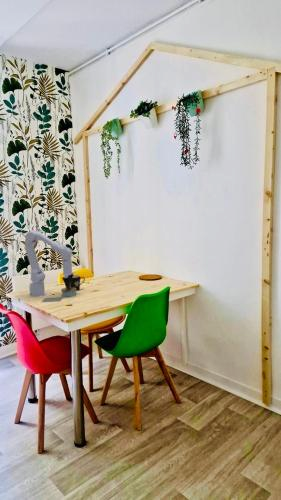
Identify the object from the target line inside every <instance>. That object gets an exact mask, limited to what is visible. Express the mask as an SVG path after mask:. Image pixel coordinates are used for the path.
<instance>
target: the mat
mask: <svg viewBox="0 0 281 500" xmlns="http://www.w3.org/2000/svg"><path fill="white" fill-rule="evenodd" d="M63 299H64V296H60V297H58V296H57V297H45V298H43V300H41V303H53V302H54V303H56V302H62V300H63Z"/></svg>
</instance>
